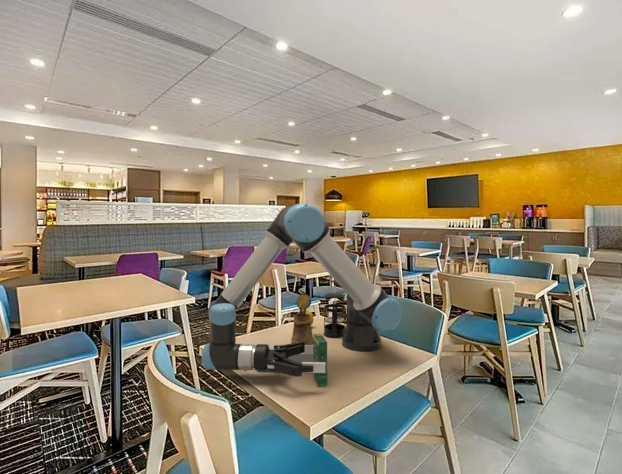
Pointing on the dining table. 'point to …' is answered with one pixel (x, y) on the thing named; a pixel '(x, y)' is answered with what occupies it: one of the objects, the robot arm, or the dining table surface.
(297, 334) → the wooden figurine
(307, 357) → the mat
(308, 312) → the lemon
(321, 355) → the coffee box
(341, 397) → the dining table surface
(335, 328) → the french press
